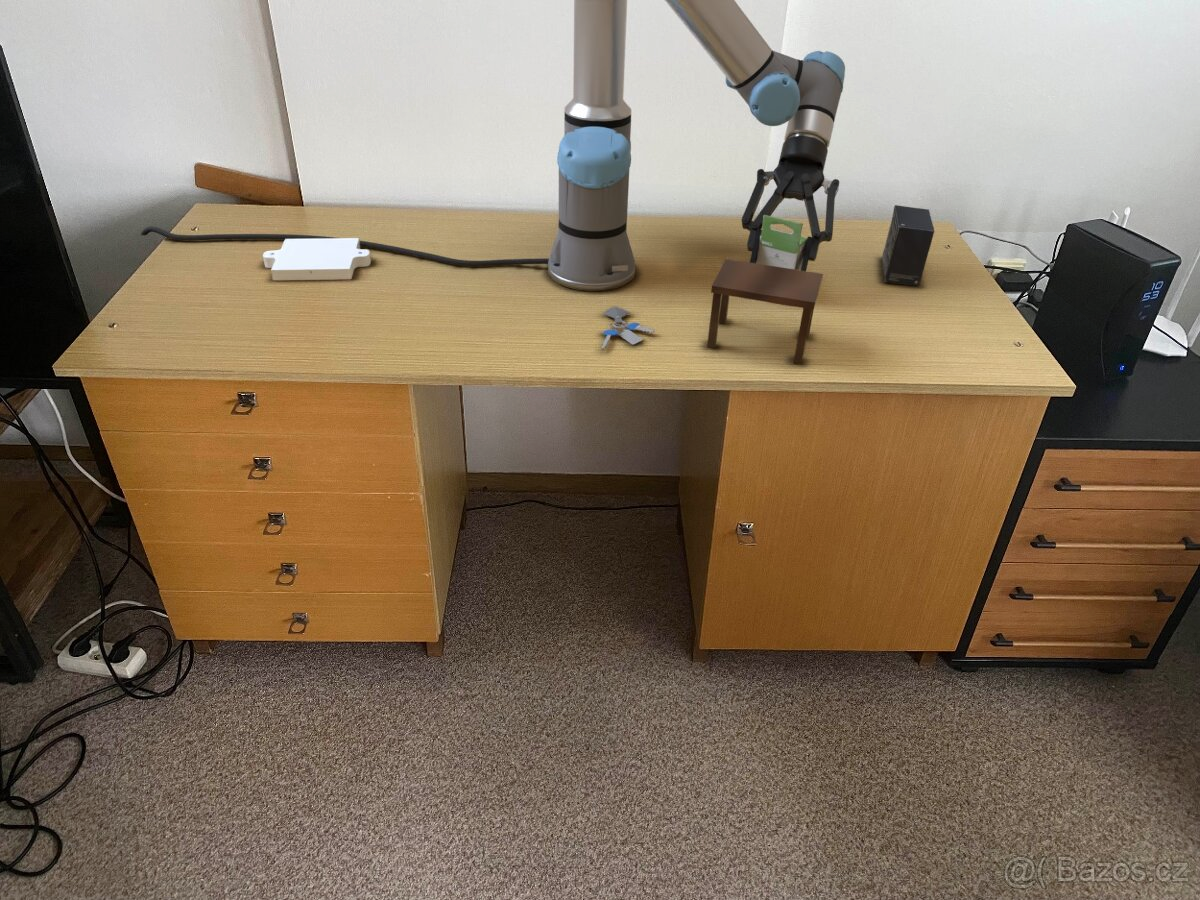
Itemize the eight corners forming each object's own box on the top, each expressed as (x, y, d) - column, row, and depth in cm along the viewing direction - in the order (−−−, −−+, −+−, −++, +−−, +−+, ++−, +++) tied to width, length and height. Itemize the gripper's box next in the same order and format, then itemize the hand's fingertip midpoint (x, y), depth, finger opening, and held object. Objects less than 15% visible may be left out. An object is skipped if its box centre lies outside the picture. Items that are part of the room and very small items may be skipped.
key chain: (603, 308, 144) (603, 303, 143) (653, 310, 144) (654, 305, 143) (600, 351, 133) (600, 346, 132) (655, 353, 133) (655, 348, 132)
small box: (921, 287, 154) (936, 230, 148) (883, 283, 155) (896, 226, 148) (916, 262, 162) (930, 207, 156) (880, 258, 163) (893, 204, 157)
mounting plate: (257, 280, 149) (255, 270, 148) (273, 249, 159) (271, 238, 158) (366, 279, 150) (364, 268, 149) (374, 247, 161) (373, 237, 160)
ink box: (798, 292, 150) (812, 216, 142) (789, 301, 147) (802, 224, 139) (761, 281, 153) (772, 206, 145) (751, 289, 150) (762, 214, 142)
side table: (704, 347, 135) (711, 285, 128) (717, 318, 142) (725, 258, 136) (802, 365, 131) (815, 302, 125) (811, 334, 139) (822, 273, 133)
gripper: (866, 164, 148) (838, 291, 146) (746, 148, 153) (716, 271, 150) (870, 141, 141) (840, 275, 138) (744, 126, 146) (713, 254, 143)
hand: (776, 273), depth 144 cm, fingers closed on ink box, 8 cm apart
